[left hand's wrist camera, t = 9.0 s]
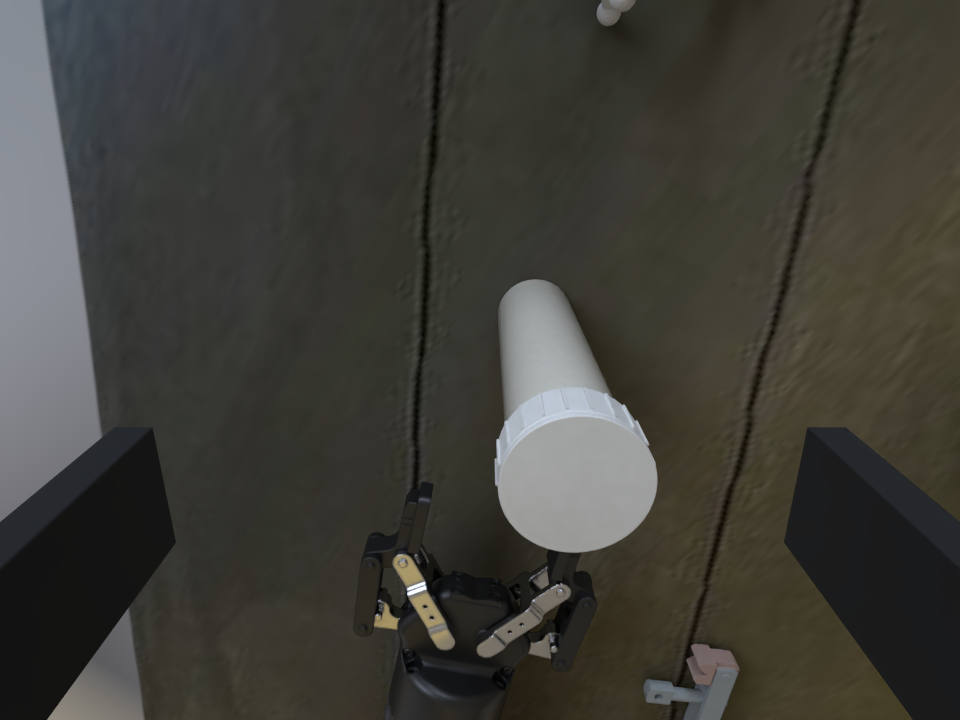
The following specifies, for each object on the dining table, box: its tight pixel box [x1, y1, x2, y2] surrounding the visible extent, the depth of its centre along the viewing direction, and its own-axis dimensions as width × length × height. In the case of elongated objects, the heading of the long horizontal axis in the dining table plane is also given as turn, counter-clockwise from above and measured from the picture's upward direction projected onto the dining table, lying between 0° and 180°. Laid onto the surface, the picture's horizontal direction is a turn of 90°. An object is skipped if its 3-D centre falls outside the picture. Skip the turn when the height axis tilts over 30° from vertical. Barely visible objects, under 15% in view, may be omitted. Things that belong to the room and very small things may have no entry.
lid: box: [495, 387, 657, 553], centre depth 22 cm, size 5×5×2 cm
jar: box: [498, 279, 614, 422], centre depth 30 cm, size 5×5×19 cm
